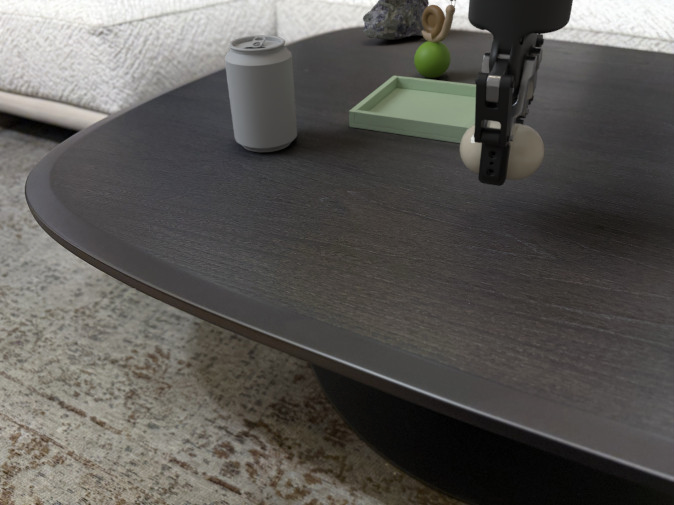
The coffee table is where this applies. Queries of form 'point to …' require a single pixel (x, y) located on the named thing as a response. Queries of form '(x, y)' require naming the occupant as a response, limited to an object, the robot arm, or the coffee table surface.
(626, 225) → the coffee table surface
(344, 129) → the coffee table surface
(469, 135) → the cream lobed oval
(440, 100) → the tray
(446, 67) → the snail figurine
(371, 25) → the mineral rock
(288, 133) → the can
